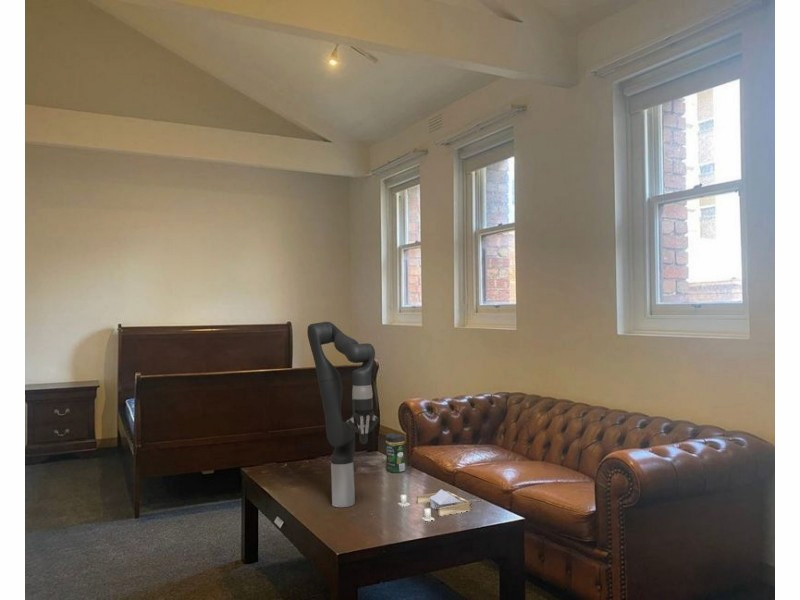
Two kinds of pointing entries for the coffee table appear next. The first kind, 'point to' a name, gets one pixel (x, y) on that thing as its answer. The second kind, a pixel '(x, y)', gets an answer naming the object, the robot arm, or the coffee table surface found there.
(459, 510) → the frame
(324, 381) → the robot arm
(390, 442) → the coffee jar
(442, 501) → the wedge on round base
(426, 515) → the clip gate
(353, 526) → the coffee table surface
